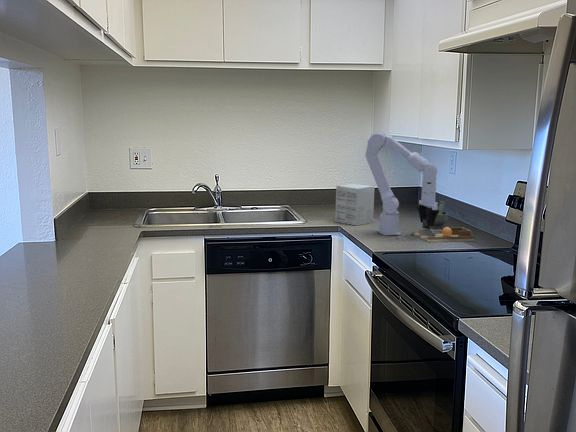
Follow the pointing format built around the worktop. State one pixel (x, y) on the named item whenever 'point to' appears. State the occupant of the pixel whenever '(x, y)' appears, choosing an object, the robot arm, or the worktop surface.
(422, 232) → the pitch
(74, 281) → the worktop surface
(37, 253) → the worktop surface
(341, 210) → the supplement box
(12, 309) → the worktop surface
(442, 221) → the mortar and pestle
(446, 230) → the ball
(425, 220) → the kicker
